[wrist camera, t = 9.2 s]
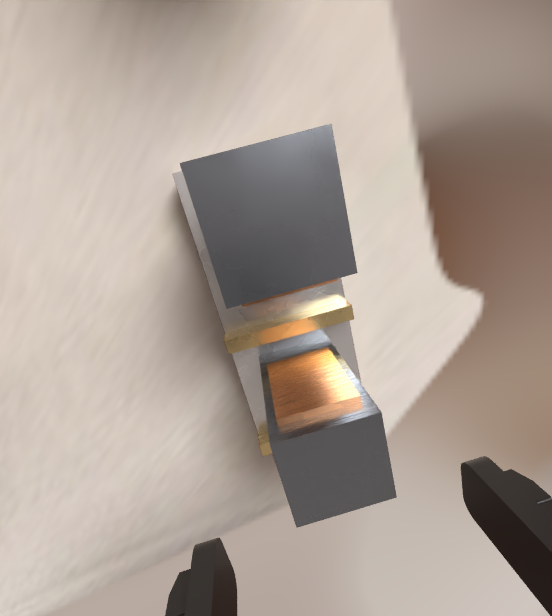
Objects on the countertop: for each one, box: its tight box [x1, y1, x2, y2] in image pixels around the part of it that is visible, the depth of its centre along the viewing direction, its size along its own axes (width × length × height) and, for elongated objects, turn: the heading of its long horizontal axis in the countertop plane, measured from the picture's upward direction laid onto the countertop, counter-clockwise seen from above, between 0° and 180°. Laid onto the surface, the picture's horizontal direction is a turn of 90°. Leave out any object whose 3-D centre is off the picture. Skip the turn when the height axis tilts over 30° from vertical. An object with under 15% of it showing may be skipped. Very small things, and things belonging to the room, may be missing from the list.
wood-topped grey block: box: [259, 337, 396, 527], centre depth 14 cm, size 4×4×7 cm
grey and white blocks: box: [172, 124, 362, 456], centre depth 14 cm, size 7×16×9 cm, turn 14°
